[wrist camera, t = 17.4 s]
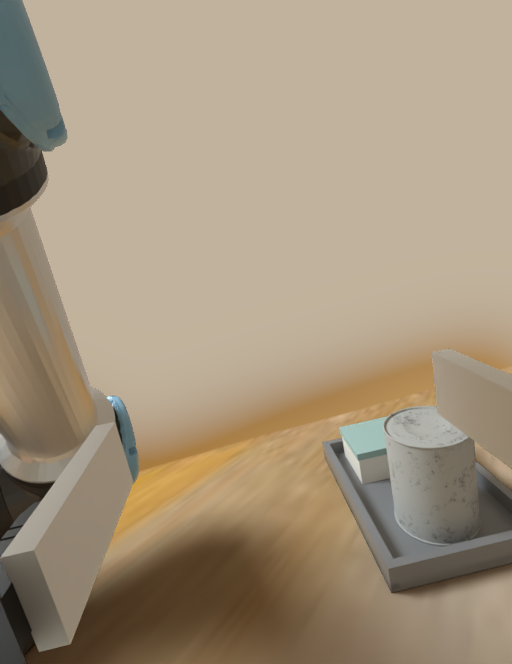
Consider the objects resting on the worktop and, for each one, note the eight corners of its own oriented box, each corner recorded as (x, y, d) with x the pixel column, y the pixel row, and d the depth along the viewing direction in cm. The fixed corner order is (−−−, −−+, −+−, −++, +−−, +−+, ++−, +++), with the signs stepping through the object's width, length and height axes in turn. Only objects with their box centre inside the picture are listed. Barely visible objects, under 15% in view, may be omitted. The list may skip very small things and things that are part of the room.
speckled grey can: (457, 485, 50) (450, 400, 48) (498, 540, 41) (492, 439, 38) (385, 495, 51) (373, 412, 49) (409, 551, 42) (397, 453, 39)
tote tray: (557, 552, 40) (556, 527, 39) (391, 592, 39) (388, 568, 38) (426, 434, 65) (425, 419, 64) (324, 458, 64) (322, 442, 64)
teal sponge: (444, 466, 55) (441, 435, 54) (361, 485, 54) (356, 454, 53) (415, 438, 63) (412, 410, 62) (343, 454, 62) (339, 427, 61)
